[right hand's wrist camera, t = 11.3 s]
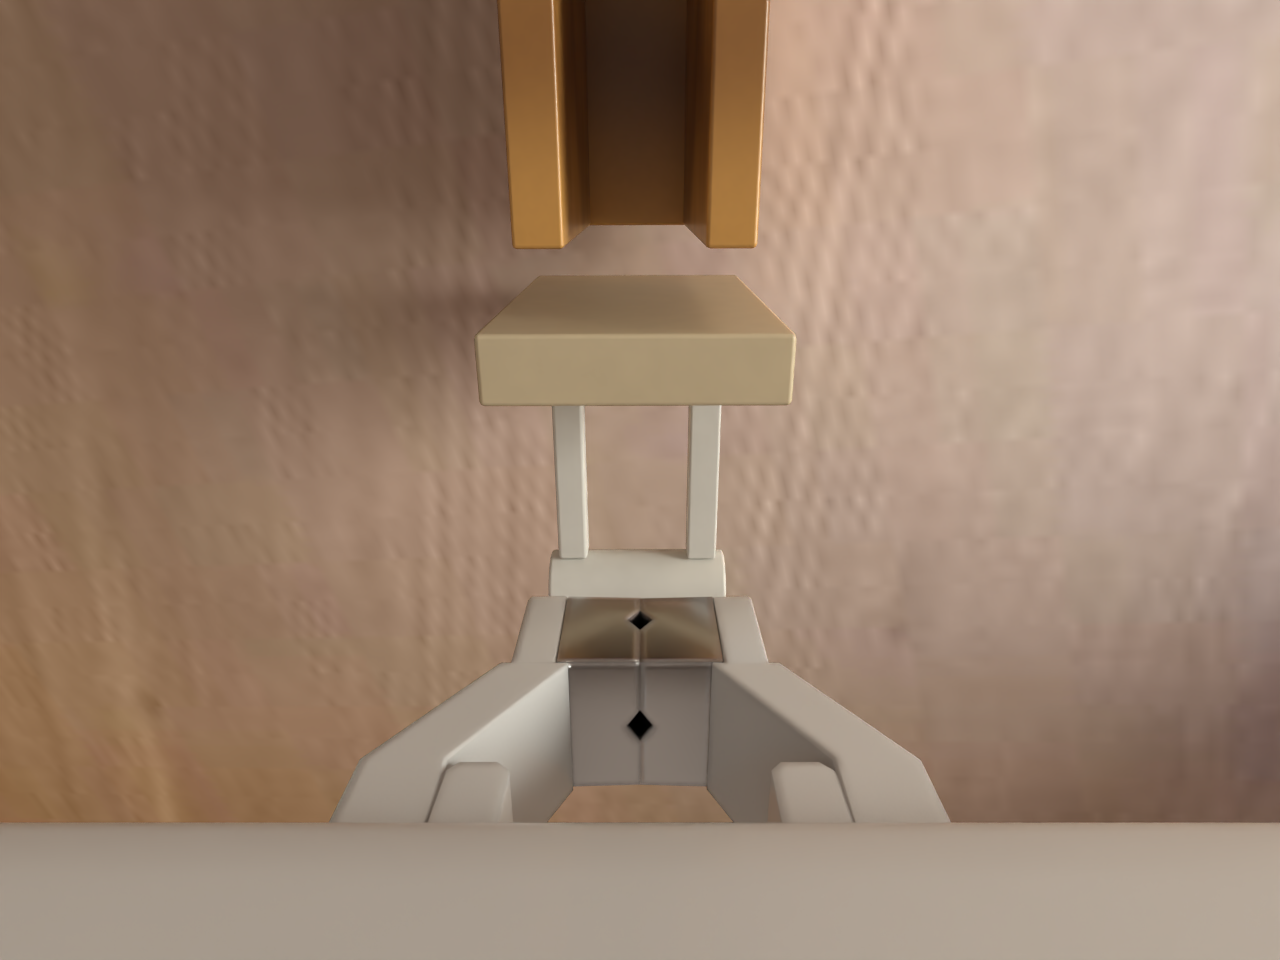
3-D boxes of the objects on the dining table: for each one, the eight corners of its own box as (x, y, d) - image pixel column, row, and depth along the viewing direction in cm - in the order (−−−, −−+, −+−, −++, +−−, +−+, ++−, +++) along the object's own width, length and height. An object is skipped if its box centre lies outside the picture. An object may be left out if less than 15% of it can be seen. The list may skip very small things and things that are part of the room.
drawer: (727, 510, 22) (771, 682, 14) (549, 510, 22) (502, 682, 14) (780, -708, 13) (960, -1865, 6) (486, -705, 13) (285, -1860, 6)
